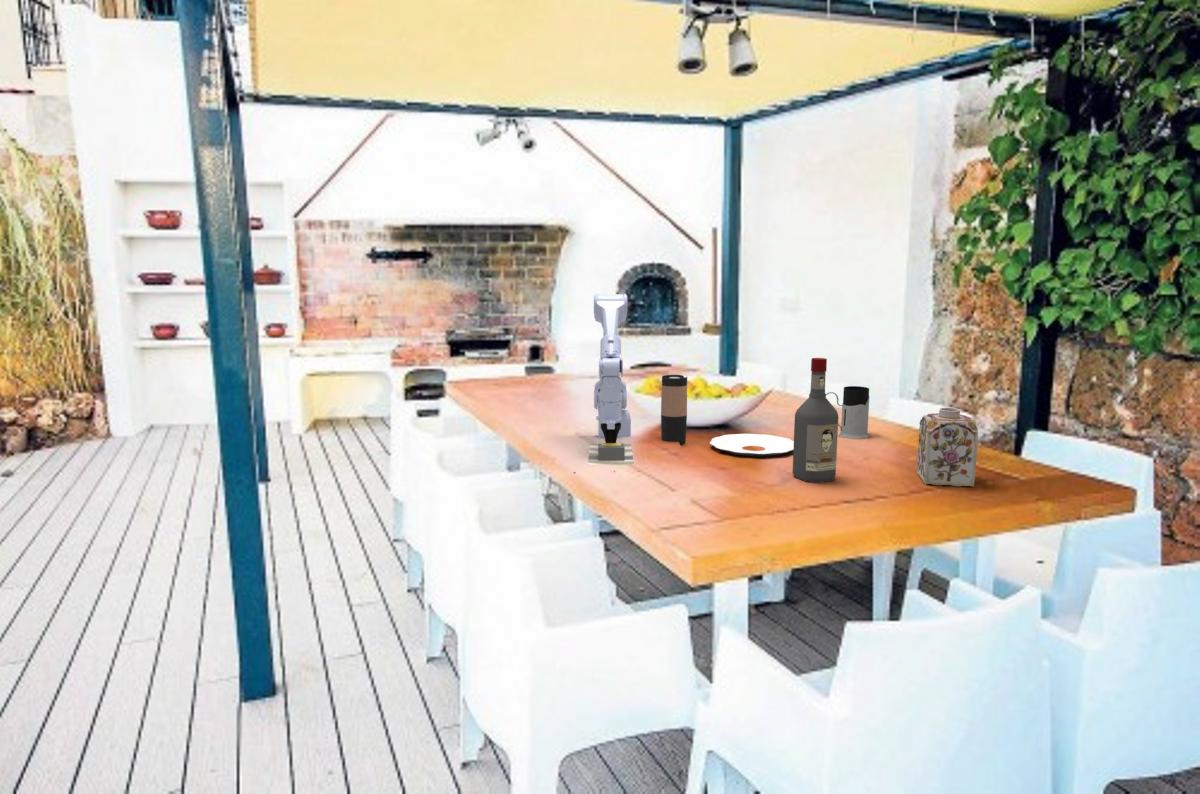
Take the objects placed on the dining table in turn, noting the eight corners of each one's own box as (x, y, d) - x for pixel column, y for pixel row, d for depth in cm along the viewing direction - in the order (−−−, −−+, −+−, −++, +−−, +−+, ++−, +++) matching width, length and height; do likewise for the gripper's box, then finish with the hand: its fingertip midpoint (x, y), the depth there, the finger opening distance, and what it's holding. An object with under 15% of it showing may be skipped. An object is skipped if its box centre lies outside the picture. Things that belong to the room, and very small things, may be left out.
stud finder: (598, 456, 222) (598, 442, 222) (623, 456, 222) (623, 442, 222) (598, 460, 217) (598, 446, 217) (624, 460, 217) (624, 446, 217)
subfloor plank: (589, 448, 237) (589, 443, 237) (631, 448, 237) (631, 444, 237) (588, 469, 213) (588, 464, 213) (634, 469, 213) (634, 464, 213)
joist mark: (588, 460, 223) (588, 456, 222) (632, 460, 223) (632, 456, 222) (588, 464, 219) (588, 459, 218) (633, 464, 219) (633, 459, 218)
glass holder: (872, 439, 248) (875, 390, 246) (825, 438, 249) (827, 390, 246) (863, 433, 257) (866, 385, 254) (818, 432, 257) (820, 385, 255)
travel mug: (657, 444, 241) (658, 377, 238) (665, 439, 248) (665, 374, 245) (682, 446, 238) (683, 379, 235) (689, 441, 245) (690, 375, 242)
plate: (743, 436, 254) (743, 430, 254) (815, 449, 236) (815, 442, 236) (692, 449, 237) (692, 442, 236) (765, 464, 219) (765, 457, 219)
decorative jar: (964, 475, 207) (970, 405, 204) (975, 488, 196) (981, 414, 193) (914, 472, 210) (919, 403, 207) (922, 485, 198) (927, 412, 195)
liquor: (787, 474, 208) (792, 357, 203) (817, 471, 211) (823, 355, 206) (809, 484, 199) (815, 361, 194) (840, 480, 203) (846, 360, 198)
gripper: (596, 396, 231) (596, 443, 233) (595, 406, 217) (595, 455, 219) (621, 396, 231) (621, 443, 233) (622, 406, 216) (622, 455, 219)
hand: (610, 449), depth 226 cm, fingers closed
